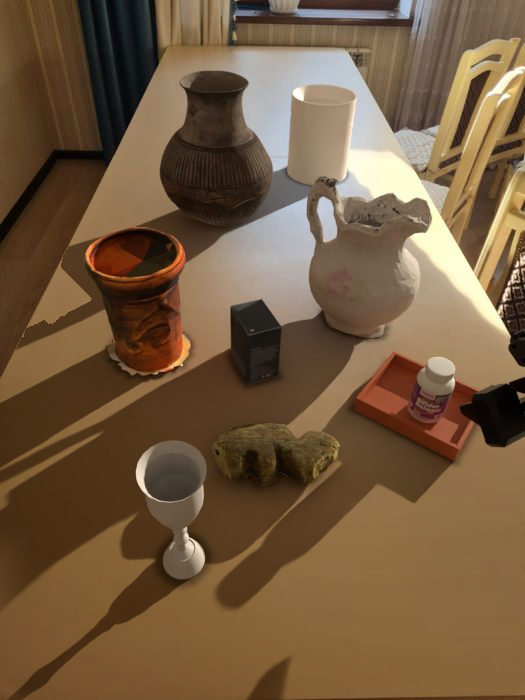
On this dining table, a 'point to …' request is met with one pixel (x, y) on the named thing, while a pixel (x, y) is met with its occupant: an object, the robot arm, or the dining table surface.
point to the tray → (392, 407)
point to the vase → (215, 153)
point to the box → (255, 341)
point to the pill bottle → (432, 390)
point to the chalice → (175, 500)
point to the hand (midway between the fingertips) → (486, 397)
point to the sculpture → (273, 453)
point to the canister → (320, 132)
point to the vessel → (141, 297)
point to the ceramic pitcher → (364, 258)
